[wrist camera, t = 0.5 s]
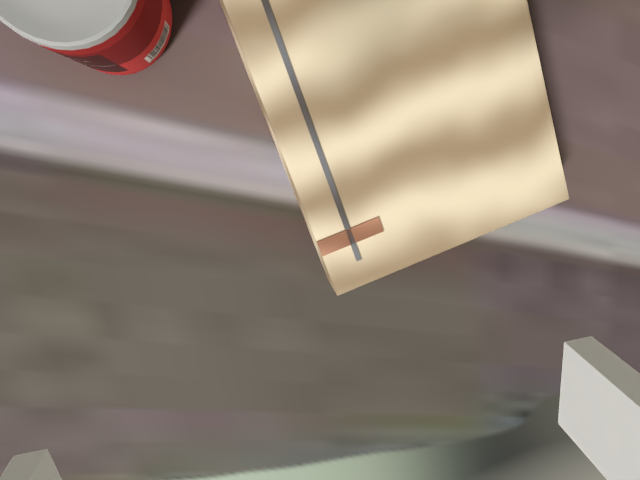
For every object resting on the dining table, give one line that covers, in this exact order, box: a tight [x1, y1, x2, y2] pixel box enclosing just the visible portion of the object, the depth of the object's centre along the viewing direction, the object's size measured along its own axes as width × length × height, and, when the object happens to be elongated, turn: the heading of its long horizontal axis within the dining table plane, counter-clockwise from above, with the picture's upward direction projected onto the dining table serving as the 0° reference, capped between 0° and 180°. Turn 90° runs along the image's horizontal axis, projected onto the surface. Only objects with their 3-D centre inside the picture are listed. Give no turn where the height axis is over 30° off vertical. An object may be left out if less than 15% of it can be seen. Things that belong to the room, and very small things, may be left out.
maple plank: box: [219, 0, 569, 296], centre depth 33 cm, size 28×20×4 cm
